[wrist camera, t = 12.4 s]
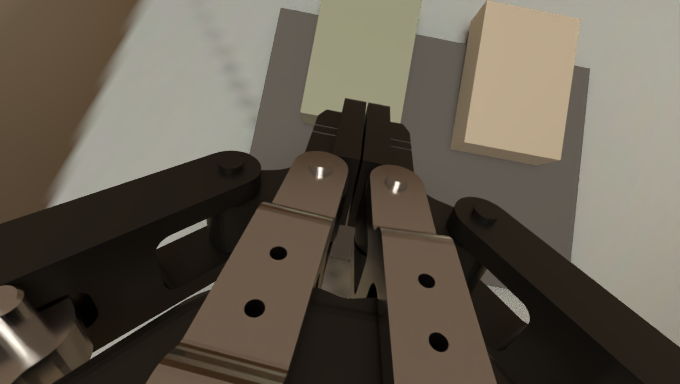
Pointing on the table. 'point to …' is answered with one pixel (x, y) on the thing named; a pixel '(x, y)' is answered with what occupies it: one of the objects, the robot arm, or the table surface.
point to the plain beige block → (516, 84)
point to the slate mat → (429, 137)
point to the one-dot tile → (360, 55)
